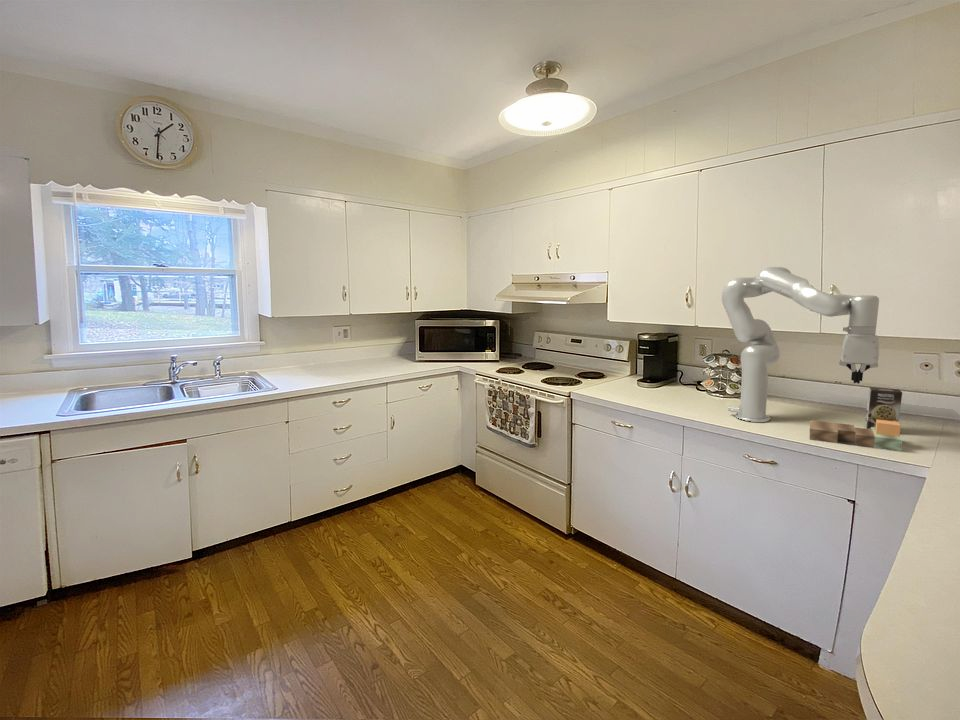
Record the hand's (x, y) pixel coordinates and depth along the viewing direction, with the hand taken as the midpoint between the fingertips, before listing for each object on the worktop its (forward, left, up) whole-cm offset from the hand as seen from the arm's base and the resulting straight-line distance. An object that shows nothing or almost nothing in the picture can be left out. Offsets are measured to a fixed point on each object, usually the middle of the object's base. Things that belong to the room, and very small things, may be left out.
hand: (856, 382), depth 165 cm
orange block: (+10, -1, -17) cm, 20 cm away
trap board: (0, 0, -21) cm, 21 cm away
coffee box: (+10, +18, -21) cm, 30 cm away
